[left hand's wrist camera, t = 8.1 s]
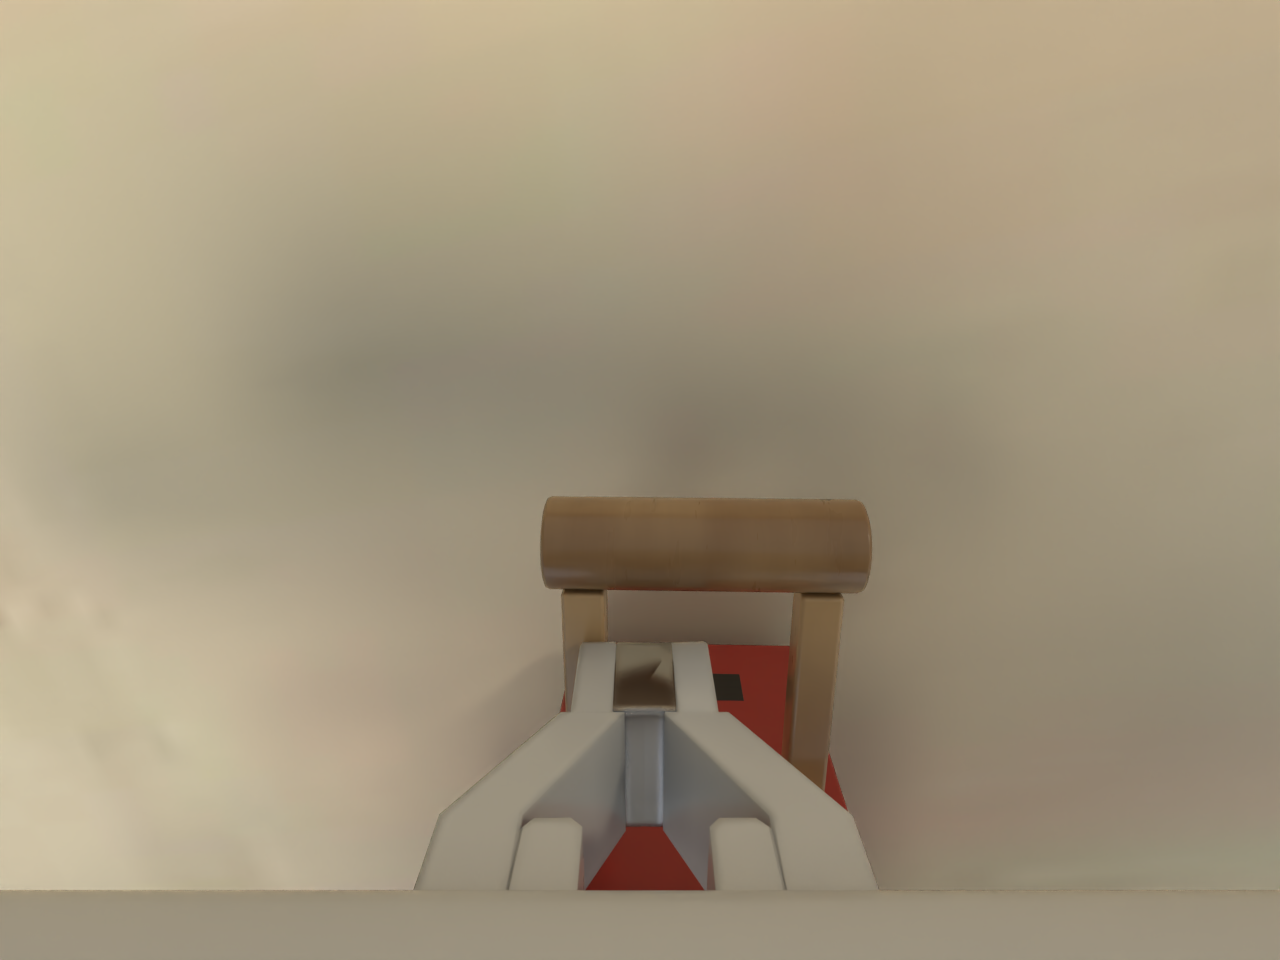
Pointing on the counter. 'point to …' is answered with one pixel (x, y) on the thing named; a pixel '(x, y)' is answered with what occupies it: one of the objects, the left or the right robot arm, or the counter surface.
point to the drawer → (743, 674)
